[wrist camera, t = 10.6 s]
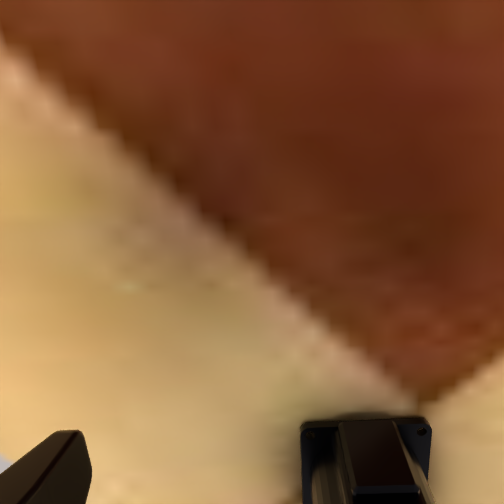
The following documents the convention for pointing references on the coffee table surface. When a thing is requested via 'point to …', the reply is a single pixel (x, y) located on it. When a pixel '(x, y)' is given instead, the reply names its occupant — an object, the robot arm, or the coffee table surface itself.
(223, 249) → the coffee table surface
